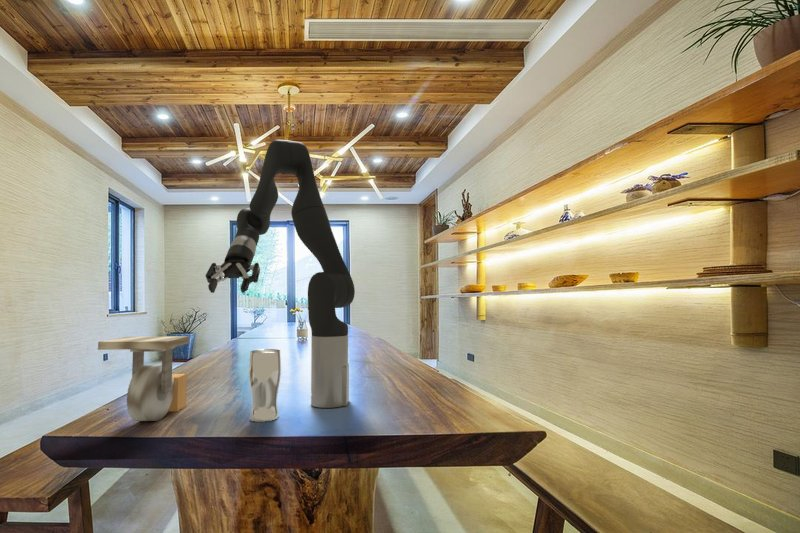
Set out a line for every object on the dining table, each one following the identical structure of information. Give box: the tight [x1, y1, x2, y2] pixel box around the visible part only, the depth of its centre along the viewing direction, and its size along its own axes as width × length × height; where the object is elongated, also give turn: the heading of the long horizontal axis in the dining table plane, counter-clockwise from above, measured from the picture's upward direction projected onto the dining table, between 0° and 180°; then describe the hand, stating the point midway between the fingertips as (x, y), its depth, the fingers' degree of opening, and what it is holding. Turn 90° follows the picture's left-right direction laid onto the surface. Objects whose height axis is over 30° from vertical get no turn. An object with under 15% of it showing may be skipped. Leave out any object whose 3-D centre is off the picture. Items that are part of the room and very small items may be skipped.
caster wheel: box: [97, 335, 190, 422], centre depth 97 cm, size 14×14×18 cm
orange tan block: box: [168, 373, 188, 412], centre depth 107 cm, size 5×4×8 cm
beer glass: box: [248, 348, 282, 423], centre depth 98 cm, size 7×7×15 cm
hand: (227, 290), depth 122 cm, fingers open, 8 cm apart
